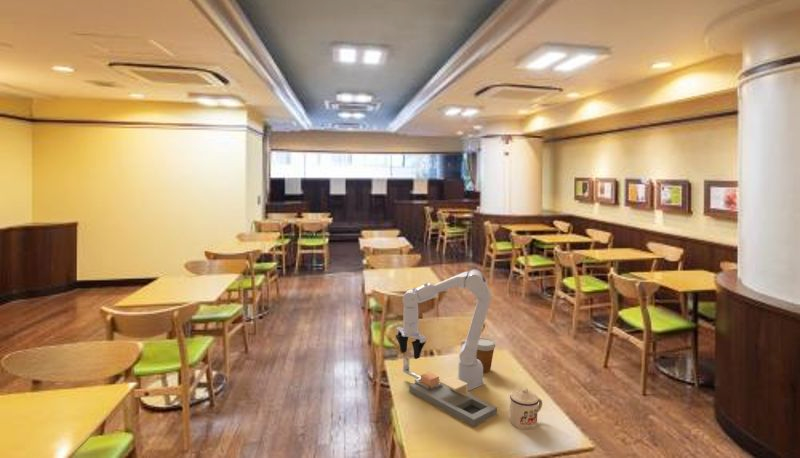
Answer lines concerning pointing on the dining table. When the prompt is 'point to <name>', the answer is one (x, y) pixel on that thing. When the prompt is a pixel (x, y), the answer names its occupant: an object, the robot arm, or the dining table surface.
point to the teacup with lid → (524, 408)
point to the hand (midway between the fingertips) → (410, 355)
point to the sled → (418, 378)
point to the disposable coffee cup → (485, 353)
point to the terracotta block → (429, 378)
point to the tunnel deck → (456, 400)
